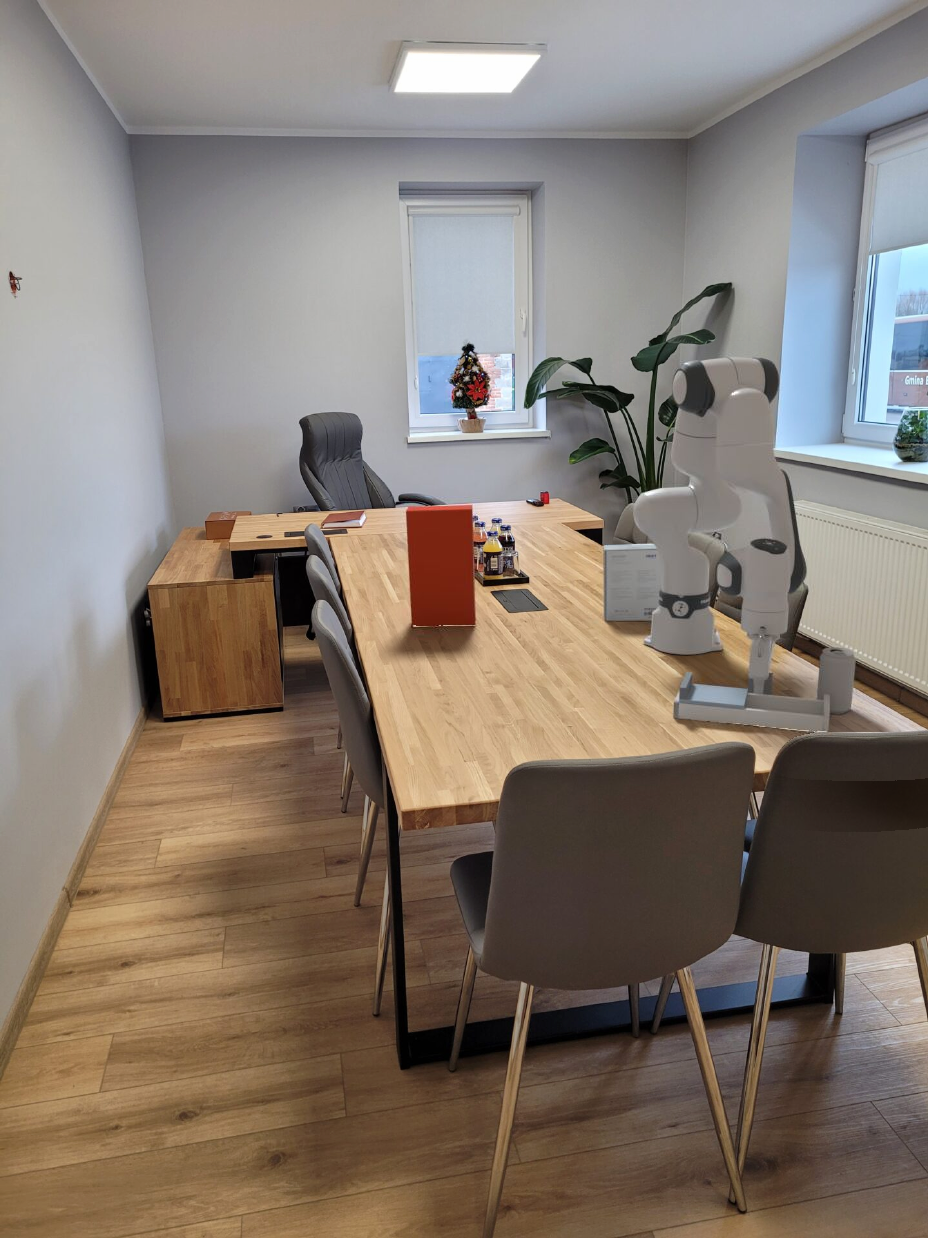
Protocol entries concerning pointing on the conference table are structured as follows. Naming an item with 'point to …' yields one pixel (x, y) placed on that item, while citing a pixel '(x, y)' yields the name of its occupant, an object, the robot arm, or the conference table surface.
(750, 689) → the block
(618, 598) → the hard drive box
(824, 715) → the tray
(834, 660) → the beverage can
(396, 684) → the conference table surface
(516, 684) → the conference table surface
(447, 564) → the file binder
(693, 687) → the cover
